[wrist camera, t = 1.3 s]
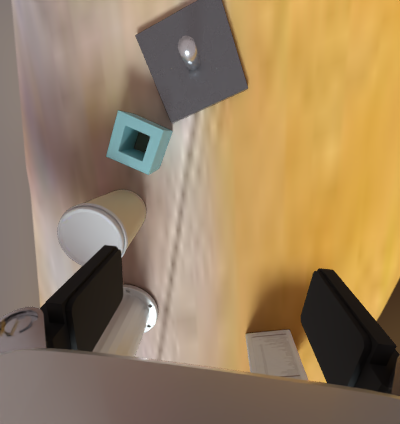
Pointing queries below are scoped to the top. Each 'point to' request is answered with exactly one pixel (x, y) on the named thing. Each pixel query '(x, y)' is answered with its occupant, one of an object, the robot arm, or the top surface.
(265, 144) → the top surface
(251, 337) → the supplement box
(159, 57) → the shaft stand
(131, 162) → the collar
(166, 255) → the top surface
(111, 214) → the coffee cup
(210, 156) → the top surface
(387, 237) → the top surface
